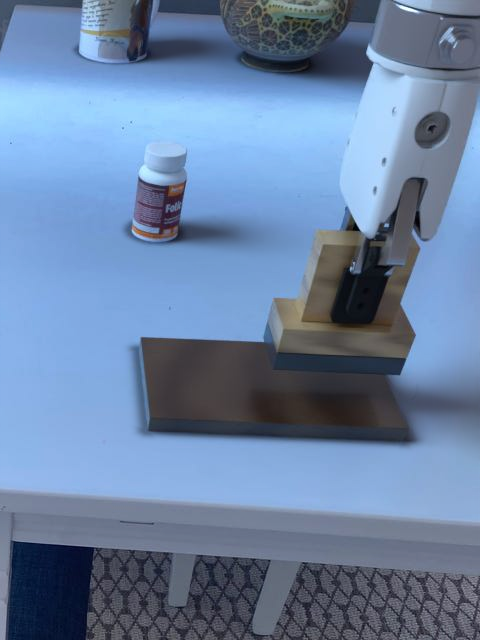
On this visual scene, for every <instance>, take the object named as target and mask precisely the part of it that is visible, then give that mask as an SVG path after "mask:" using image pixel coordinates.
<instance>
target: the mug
mask: <svg viewBox="0 0 480 640" xmlns="http://www.w3.org/2000/svg"><path fill="white" fill-rule="evenodd" d="M160 3H161V0H82V5H81V18H80V32H79V44H78V45H79V46H78V52H79V54H80V55H81V56H82V57H84V58H86V59H88V60H92V61H94V62H101V63H107V64H128V63H135V62H138V61H141V60H143V59H145V58H146V57H147V54H148V49H149V48H148V47H149V39H150V31H151V28H152V26H153V24H154V23H155V20H156V17H157V15H158V11H159V9H160V8H159V7H160Z"/></svg>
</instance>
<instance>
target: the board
mask: <svg viewBox="0 0 480 640" xmlns="http://www.w3.org/2000/svg"><path fill="white" fill-rule="evenodd" d="M138 356H139V363H140V374H141V383H142V391H143V402H144V411H145V421H146V428H147V431H148V432H163V433H164V432H165V433H185V434H187V433H189V434H209V435H210V434H212V435H213V434H214V435H236V436H237V435H238V436H239V435H240V436H259V437H260V436H261V437H281V438H282V437H283V438H284V437H285V438H310V439H334V440H353V441H354V440H356V441H358V440H359V441H381V442H404V441H405V438H406V436H407V433H408V432H409V427H408V424H407V422H406V420H405V416H404V414H403V412H402V410H401V408H400V405H399V402H398V401H397V400H398V399H397V398H396V396H395V394H394V391H393V389H392V387H391V384H390V381H389V380H388V378H387V375H380V374H358V373H337V372H315V371H294V370H273V369H272V367H271V363H270V360H269V356H268V353H267V349H266V346H265V342H264V341H251V340H250V341H249V340H229V339H227V340H225V339H203V338H202V339H201V338H179V337H177V338H176V337H152V336H151V337H150V336H141V337H140V339H139V345H138Z"/></svg>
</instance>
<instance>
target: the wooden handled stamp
mask: <svg viewBox="0 0 480 640" xmlns="http://www.w3.org/2000/svg"><path fill="white" fill-rule="evenodd" d="M359 235H360V231H342V230H340V229H317V228H316V230H315V234H314V238H313V240H312V243H311V244H312V245H311V247H310V248H311V249H310V252H309V256H308V259H307V261H306V262H307V263H306V265H305V266H306V267H305V269H304V273H303V277H302V280H301V284H300V286H299V291H298V295H297V298H290V297H289V298H288V297H273V298H272V300H271V301H272V302H271V305H270V309H269V313H268V317H267V322H266V326H265V329H264V333H263V337H262V338H263V342H265V346H266V349H267V353H268V356H269V360H270V363H271V367H272V369H273V370H294V371H315V372H337V373H358V374H380V375H386V376H401V375H402V372H403V370H404V366H405V364H406V361H407V359H408V357H409V354H410V352H411V349H412V346H413V344H414V341H415V339H416V336H417V334H416V332H415V330H414V328H413V326H412V324H411V322H410V320H409V318H408V316H407V314H406V312H405V310H404V308H403V305H402V304H401V303H402V300H403V297H404V294H405V292H406V289H407V287H408V284H409V281H410V278H411V276H412V272H413V271H414V268H415V265H416V263H417V259H418V256H419V254H420V252H421V247H420V245H419V243H418V242H417V240H416V237H415V236H414V235H413V233H412V235H411V240H410V246H409V251H408V256H407V260H406V263H405V265H404V266H395V267H394V270H393V273H392V275H391V276H390V277H389V279H388V282H387V284H386V287H385V290H384V293H383V296H382V299H381V302H380V304H379V307H378V310H377V313H376V316H375V319H374V321H373V322H372V323H370V324H353V323H334V322H332V320H331V318H330V313H331V310H332V306H333V303H334V300H335V297H336V294H337V290H338V287H339V284H340V281H341V278H342V274H343V271H344V268H350V265H351V261H352V258H353V255H354V251H355V248H356V245H357V241H358V238H359ZM384 244H385V242H384V241H371V243H370V246H369V249H368V251H369V250H370V249H371V248H372V247H373V246H383V245H384Z"/></svg>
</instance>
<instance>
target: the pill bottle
mask: <svg viewBox="0 0 480 640" xmlns="http://www.w3.org/2000/svg"><path fill="white" fill-rule="evenodd" d="M187 157H188V149H187V148H186V146H184V145H182V144H181V143H177V142H173V141H165V140H161V141H160V140H159V141H153V142H150V143H148V144H147V146H146V147H145V151H144V157H143V163H144V164H143V165H142V166H141V167H140V169H139V171H138V177H137V183H136V184H137V186H136V194H135V200H134V210H133V216H132V224H131V225H132V226H131V232H132V234H133V236H135V237H136V238H138V239H140V240H142V241H146V242H153V243H165V242H170V241H172V240H174V239H176V237H177V236H178V231H179V226H180V220H181V215H182V209H183V203H184V196H185V190H186V184H187V181H188V173H187V171H186V168H185V167H186V163H187Z"/></svg>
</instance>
